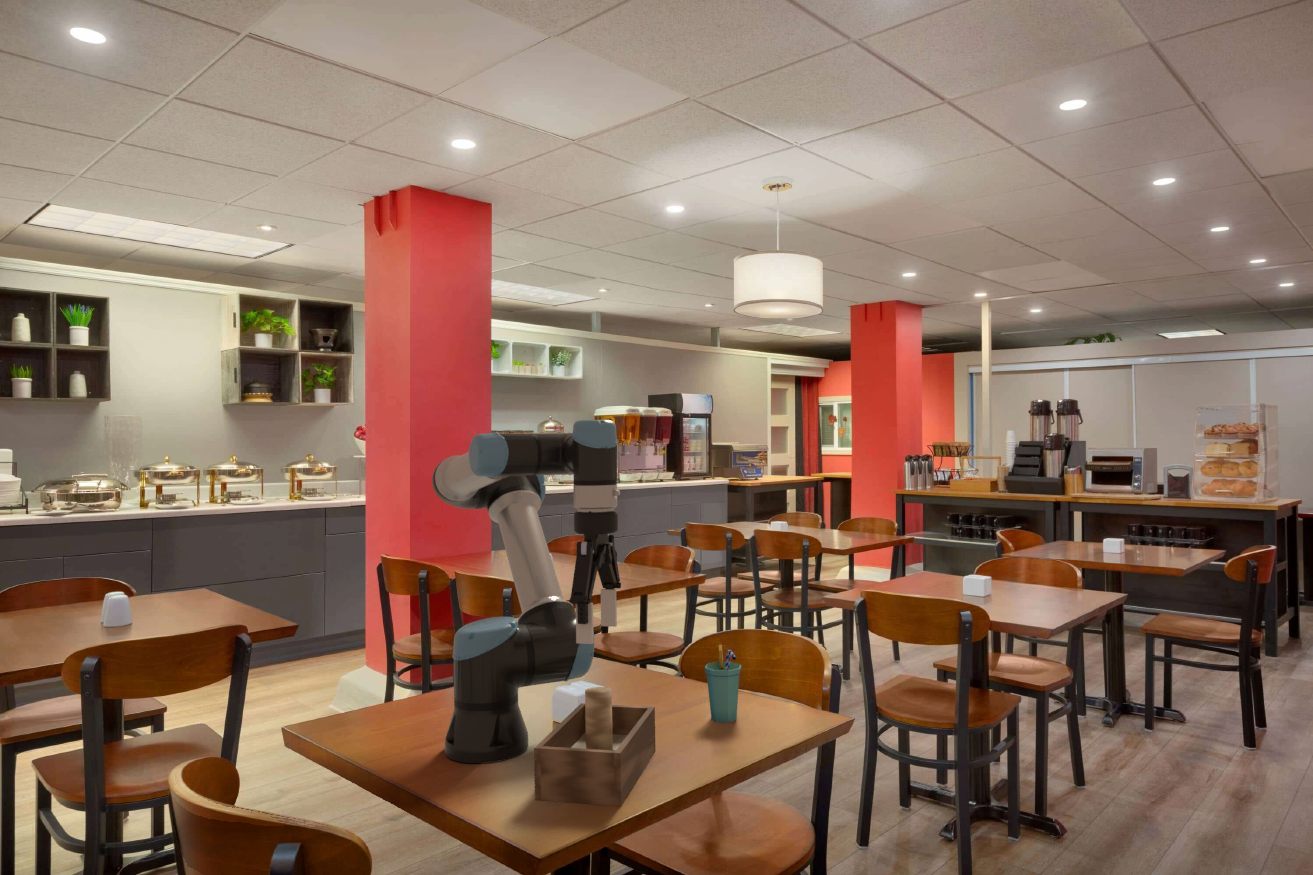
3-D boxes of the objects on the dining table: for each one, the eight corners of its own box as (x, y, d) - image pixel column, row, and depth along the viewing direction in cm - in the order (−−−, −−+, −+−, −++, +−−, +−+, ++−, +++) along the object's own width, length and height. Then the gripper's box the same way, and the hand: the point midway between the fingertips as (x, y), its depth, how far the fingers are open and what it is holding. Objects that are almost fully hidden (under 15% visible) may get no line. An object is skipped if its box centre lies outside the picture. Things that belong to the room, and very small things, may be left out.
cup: (754, 729, 161) (753, 651, 162) (716, 732, 160) (714, 654, 160) (733, 708, 175) (731, 636, 175) (697, 711, 173) (696, 639, 174)
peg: (582, 777, 138) (581, 693, 138) (590, 768, 142) (589, 686, 143) (608, 779, 137) (607, 694, 137) (616, 769, 141) (614, 687, 142)
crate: (534, 799, 129) (534, 747, 130) (581, 746, 153) (581, 703, 153) (621, 805, 126) (620, 753, 127) (655, 751, 150) (654, 706, 150)
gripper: (594, 515, 129) (596, 652, 128) (635, 505, 153) (637, 620, 153) (549, 515, 130) (550, 650, 130) (596, 505, 155) (598, 618, 154)
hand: (597, 634), depth 141 cm, fingers open, 13 cm apart
